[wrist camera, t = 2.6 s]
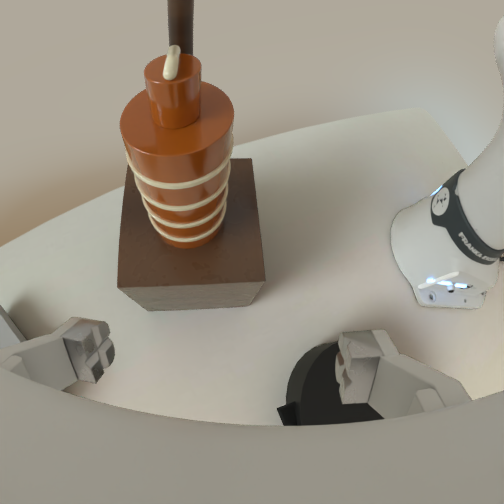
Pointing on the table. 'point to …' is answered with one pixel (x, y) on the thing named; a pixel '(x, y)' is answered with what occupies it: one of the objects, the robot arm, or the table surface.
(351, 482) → the robot arm
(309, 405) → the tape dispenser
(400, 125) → the table surface
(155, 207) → the brown banded bottle
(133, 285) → the hanger rack
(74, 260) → the table surface
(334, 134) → the table surface
